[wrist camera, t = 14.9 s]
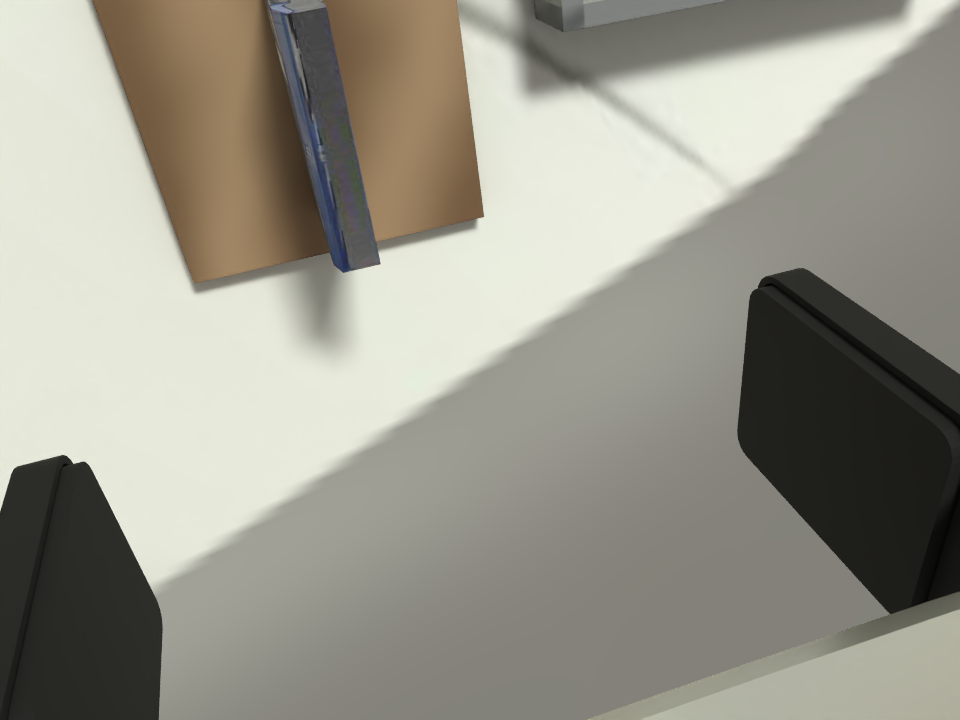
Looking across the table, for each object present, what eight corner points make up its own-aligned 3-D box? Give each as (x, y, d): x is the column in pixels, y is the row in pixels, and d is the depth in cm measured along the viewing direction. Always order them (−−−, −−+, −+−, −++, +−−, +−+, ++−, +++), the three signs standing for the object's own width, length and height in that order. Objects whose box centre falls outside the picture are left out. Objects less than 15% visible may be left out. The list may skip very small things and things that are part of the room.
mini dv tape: (260, -14, 27) (272, 13, 22) (305, -22, 28) (325, 4, 23) (317, 211, 32) (336, 275, 27) (354, 203, 32) (381, 265, 27)
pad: (194, 274, 33) (194, 283, 32) (77, -56, 26) (73, -54, 25) (478, 210, 35) (484, 216, 34) (437, -112, 28) (442, -112, 27)
